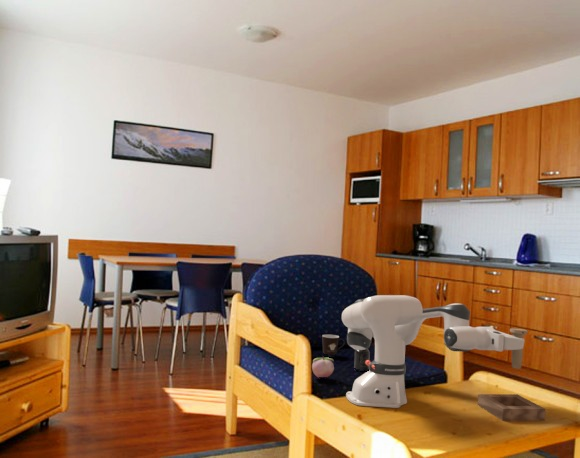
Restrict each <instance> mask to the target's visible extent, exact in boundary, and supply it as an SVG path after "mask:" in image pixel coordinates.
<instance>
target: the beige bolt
mask: <svg viewBox="0 0 580 458" xmlns="http://www.w3.org/2000/svg"><path fill="white" fill-rule="evenodd" d="M509 332H510V334H512V335H514V336H515V337H518V338H524V336H526V335H527V334H528V330H526V329H523V328H510V329H509ZM523 355H524V348H523V349H519V350H511V368H512V369H515V370H516V369H517V370H521V369H522V363H523V358H524V356H523Z"/></svg>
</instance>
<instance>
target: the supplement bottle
mask: <svg viewBox="0 0 580 458" xmlns="http://www.w3.org/2000/svg"><path fill="white" fill-rule="evenodd" d="M370 353H371V352H370V350H369V349H366V350H356V349H354V359H353V360H354V361H353V362H354V363H353V369H354V368H356V369H360V370H368V369H369V366H367V365H366V364H365V361H366V360H369V361H370V356H371V355H370Z"/></svg>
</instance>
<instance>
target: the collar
mask: <svg viewBox="0 0 580 458" xmlns="http://www.w3.org/2000/svg"><path fill="white" fill-rule="evenodd" d="M478 405H479V407H480V408H481V409H483V408H484V409H483V410H485V411H486V410H487V412H488V413H489V414H491V415H493V416H494V417H496V418H498V419H499V420H500V421H502V422H503V421H506V422H507V421H509V422H510V421H512V422H514V421H516V422H517V421H525V422H526V421H545V420H546V408H544V407H543V406H541V405H539V404H537V403H535V402H533V401H531V400H529V399H527V398H525V397H523V396H521V394H520V395H519V394H516V393H515V394H511V393H510V394H507V393H506V394H503V393H499V394H498V393H497V394H496V393H495V394H491V393H489V394H488V393H487V394H486V393H484V394H483V393H481V394H480V393H479V394H477V406H478Z"/></svg>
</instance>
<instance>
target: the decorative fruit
mask: <svg viewBox="0 0 580 458" xmlns="http://www.w3.org/2000/svg"><path fill="white" fill-rule="evenodd" d="M334 362H335V361H334V359H333V358H329V357H324V356H323V355H322V357H316V358H314V359H313V360H312V365H311V368H312V369H311V370H312V372H313V374H314V375H315V377H317V378H319V377H327V378H328V377H330V376H331V375H332V374H333V373H334V370H335V367H334Z"/></svg>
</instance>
